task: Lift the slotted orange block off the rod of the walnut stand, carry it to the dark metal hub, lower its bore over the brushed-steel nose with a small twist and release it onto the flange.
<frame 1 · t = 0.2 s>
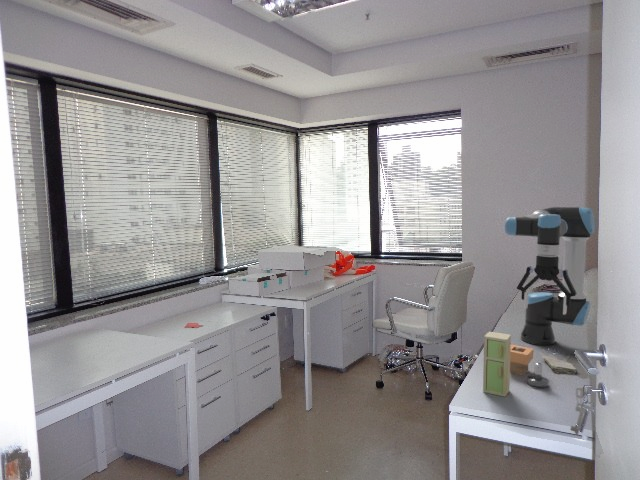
hand: (544, 311, 175), 27 cm above the table, fingers open, 13 cm apart
toy refrigerator: (495, 392, 167), on the table
stone: (557, 368, 190), on the table
stand: (517, 371, 186), on the table
hub: (537, 384, 174), on the table
slotted orange block: (518, 359, 186), point 5 cm above the table, touching stand
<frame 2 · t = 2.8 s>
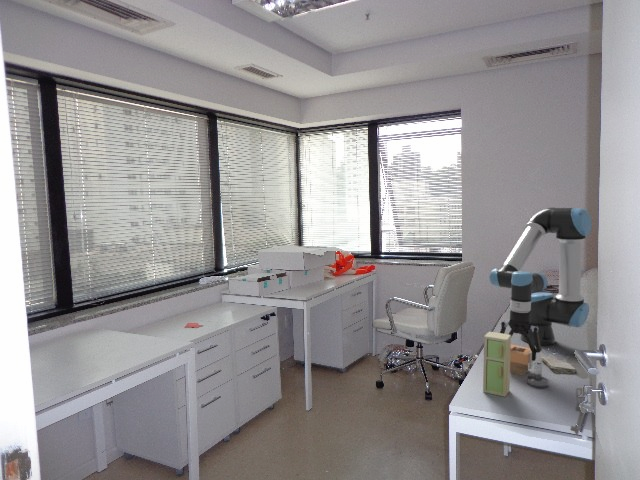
hand: (517, 365, 186), 2 cm above the table, fingers closed on slotted orange block, 9 cm apart
slotted orange block: (518, 359, 186), point 5 cm above the table, touching gripper, stand
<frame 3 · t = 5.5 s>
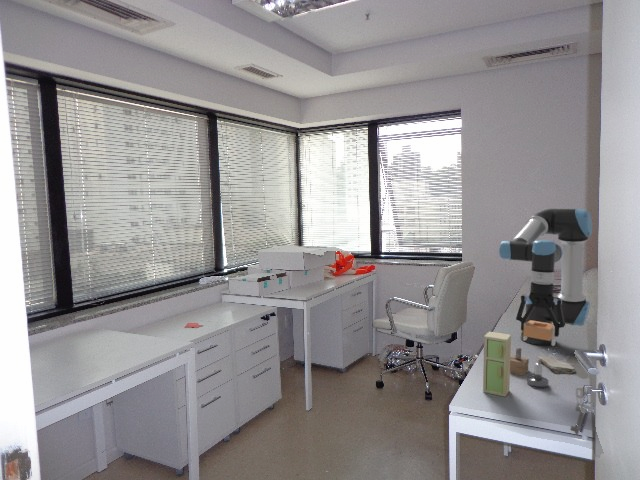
hand: (539, 342, 172), 16 cm above the table, fingers closed on slotted orange block, 9 cm apart
slotted orange block: (539, 335, 172), point 19 cm above the table, touching gripper
when the fingers open (2 cm above the table, at t = 8.3 s): slotted orange block drops 2 cm, resting on hub.
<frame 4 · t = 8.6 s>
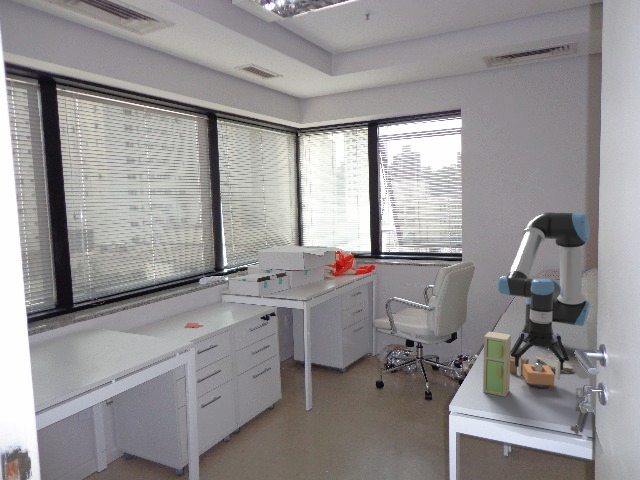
hand: (537, 376, 173), 3 cm above the table, fingers open, 13 cm apart
slotted orange block: (537, 379, 173), point 2 cm above the table, touching hub
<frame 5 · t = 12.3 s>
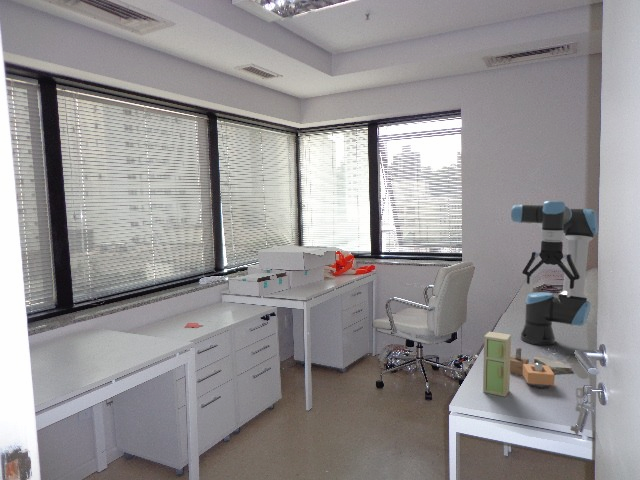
hand: (549, 294, 182), 32 cm above the table, fingers open, 13 cm apart
at the end: slotted orange block 0.0 cm off-centre on the hub, point 2.0 cm above the hub's base; slotted orange block tilted 0°; the gripper is holding nothing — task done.
